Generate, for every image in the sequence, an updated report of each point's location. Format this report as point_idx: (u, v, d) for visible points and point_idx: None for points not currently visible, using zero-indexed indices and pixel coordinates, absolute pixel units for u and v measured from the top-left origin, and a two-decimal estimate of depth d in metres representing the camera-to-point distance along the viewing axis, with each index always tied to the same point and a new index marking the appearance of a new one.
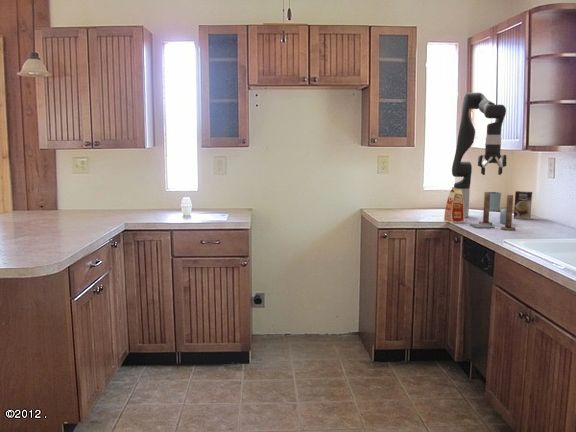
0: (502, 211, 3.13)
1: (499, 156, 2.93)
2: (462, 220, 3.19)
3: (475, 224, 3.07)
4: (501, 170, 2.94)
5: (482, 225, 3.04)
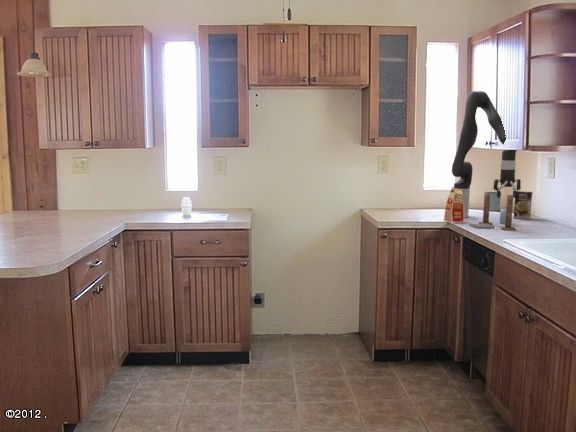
0: (502, 211, 3.13)
1: (514, 180, 3.11)
2: (462, 220, 3.19)
3: (475, 224, 3.07)
4: (515, 193, 3.13)
5: (482, 225, 3.04)
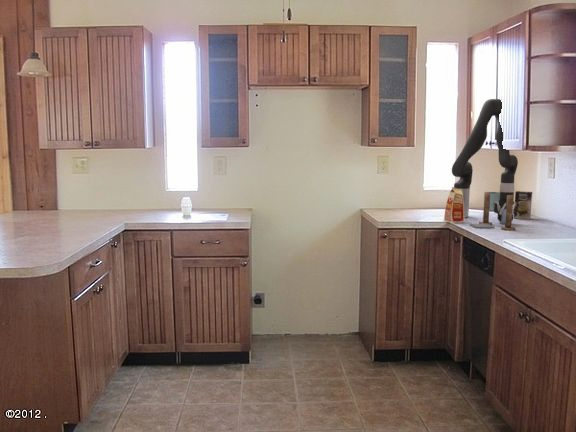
0: (502, 211, 3.13)
1: None
2: (462, 220, 3.19)
3: (475, 224, 3.07)
4: (512, 217, 3.15)
5: (482, 225, 3.04)
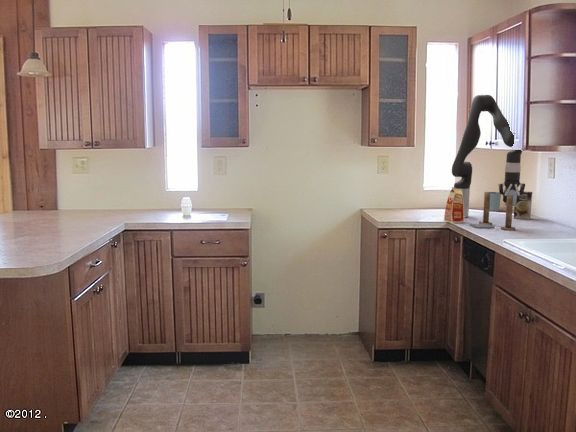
0: (508, 192, 3.01)
1: (518, 183, 3.01)
2: (462, 220, 3.19)
3: (475, 224, 3.07)
4: (518, 198, 3.02)
5: (482, 225, 3.04)
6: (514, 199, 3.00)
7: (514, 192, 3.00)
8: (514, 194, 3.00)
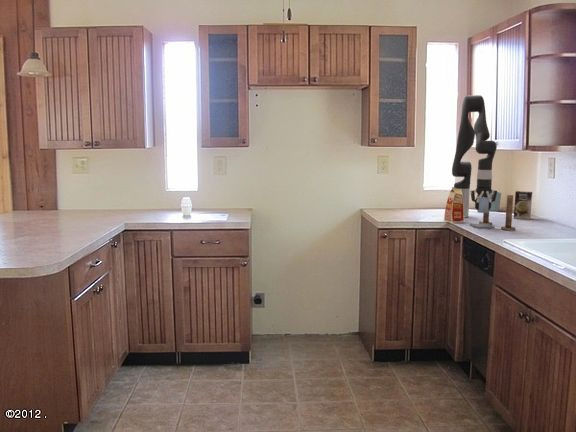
0: (480, 199, 3.01)
1: (490, 190, 3.01)
2: (462, 220, 3.19)
3: (475, 224, 3.07)
4: (490, 205, 3.02)
5: (482, 225, 3.04)
6: (486, 206, 3.00)
7: (486, 199, 3.00)
8: (485, 201, 3.00)
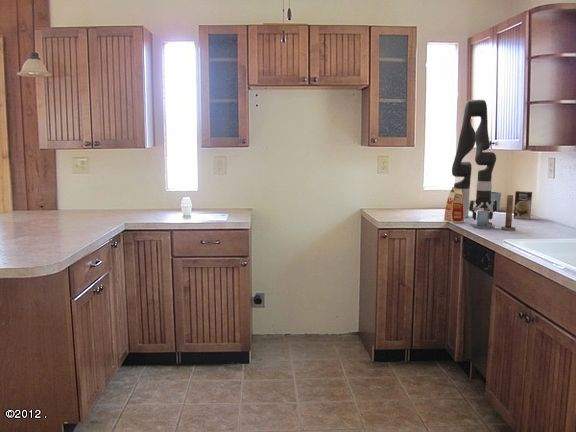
0: (479, 212, 3.02)
1: (490, 201, 3.02)
2: (462, 220, 3.19)
3: (475, 224, 3.07)
4: (492, 215, 3.03)
5: None
6: (485, 219, 3.01)
7: (485, 212, 3.01)
8: (485, 214, 3.01)
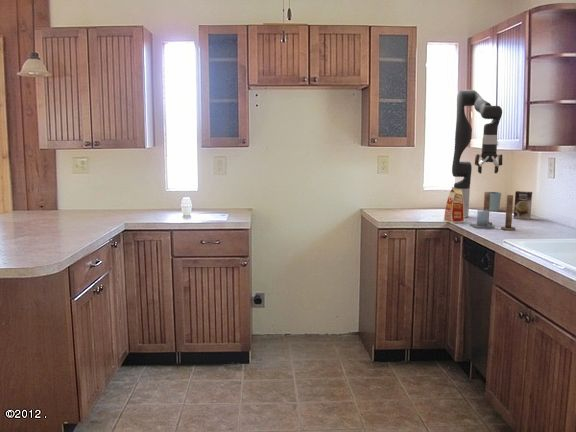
0: (479, 212, 3.02)
1: (495, 155, 3.04)
2: (462, 220, 3.19)
3: (475, 224, 3.07)
4: (497, 169, 3.05)
5: None
6: (485, 219, 3.01)
7: (485, 212, 3.01)
8: (485, 214, 3.01)
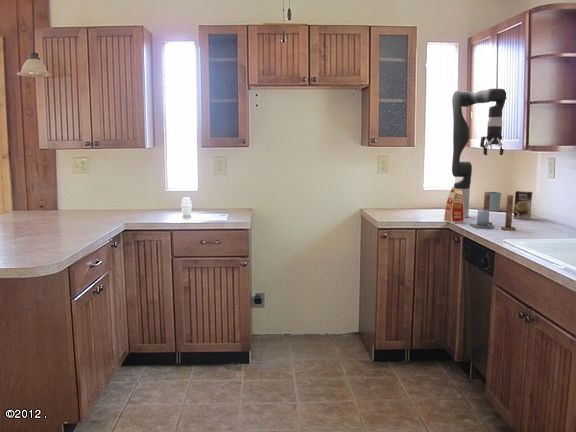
0: (479, 212, 3.02)
1: (500, 137, 3.10)
2: (462, 220, 3.19)
3: (475, 224, 3.07)
4: (502, 151, 3.11)
5: None
6: (485, 219, 3.01)
7: (485, 212, 3.01)
8: (485, 214, 3.01)
